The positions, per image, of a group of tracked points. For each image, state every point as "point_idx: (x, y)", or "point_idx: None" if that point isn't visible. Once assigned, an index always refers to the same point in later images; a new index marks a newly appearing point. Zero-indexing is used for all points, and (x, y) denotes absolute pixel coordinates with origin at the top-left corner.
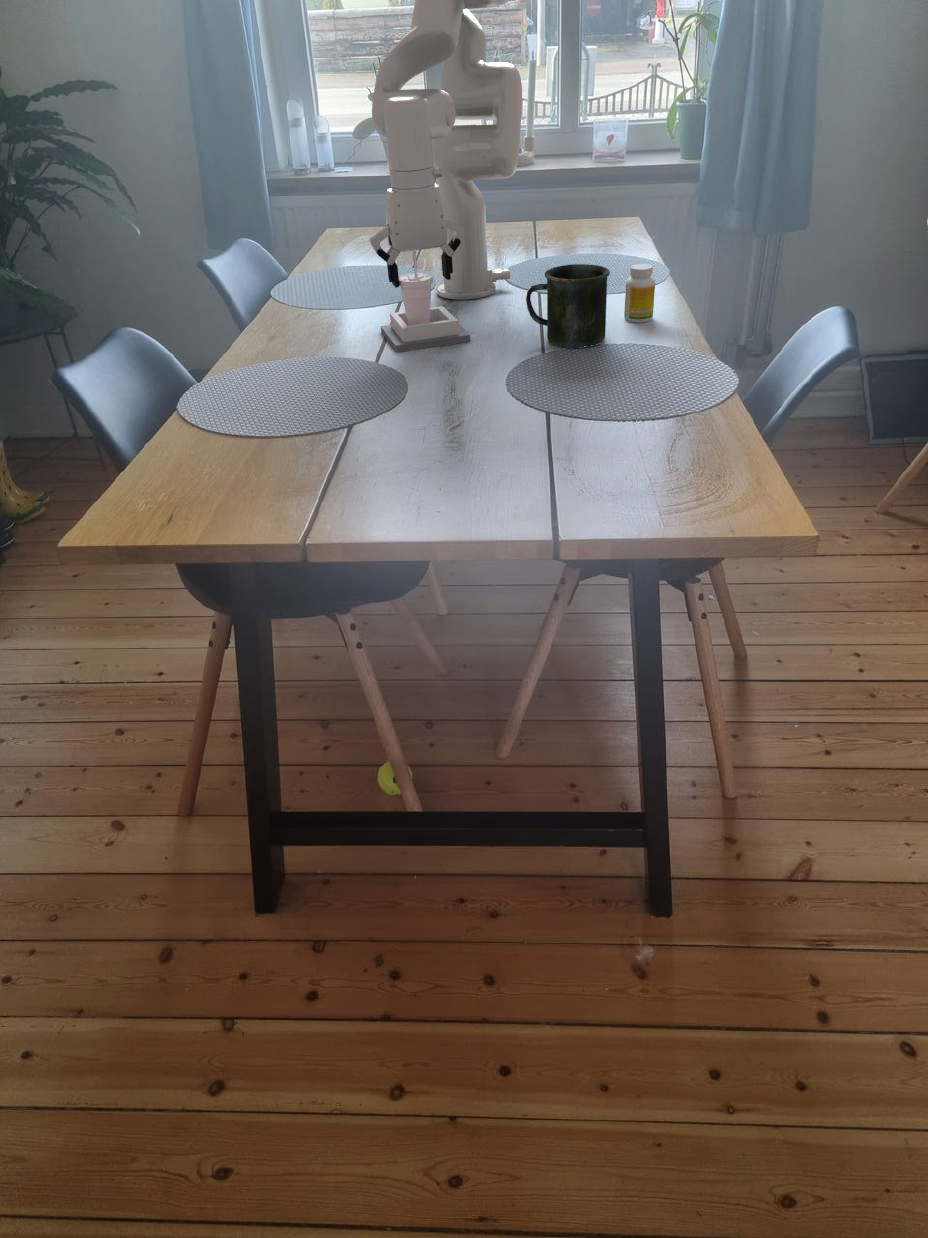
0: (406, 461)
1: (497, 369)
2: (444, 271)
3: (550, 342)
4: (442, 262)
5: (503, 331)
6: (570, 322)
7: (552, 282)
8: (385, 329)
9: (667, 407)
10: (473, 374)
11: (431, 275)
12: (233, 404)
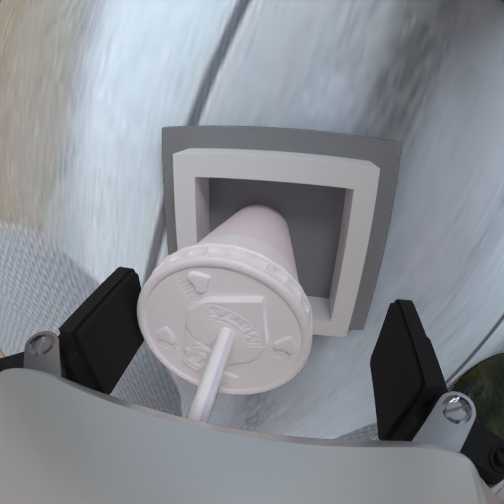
0: None
1: (319, 432)
2: (384, 355)
3: (452, 390)
4: (399, 367)
5: (455, 293)
6: None
7: None
8: (168, 167)
9: None
10: (279, 431)
11: (307, 353)
12: (12, 339)
